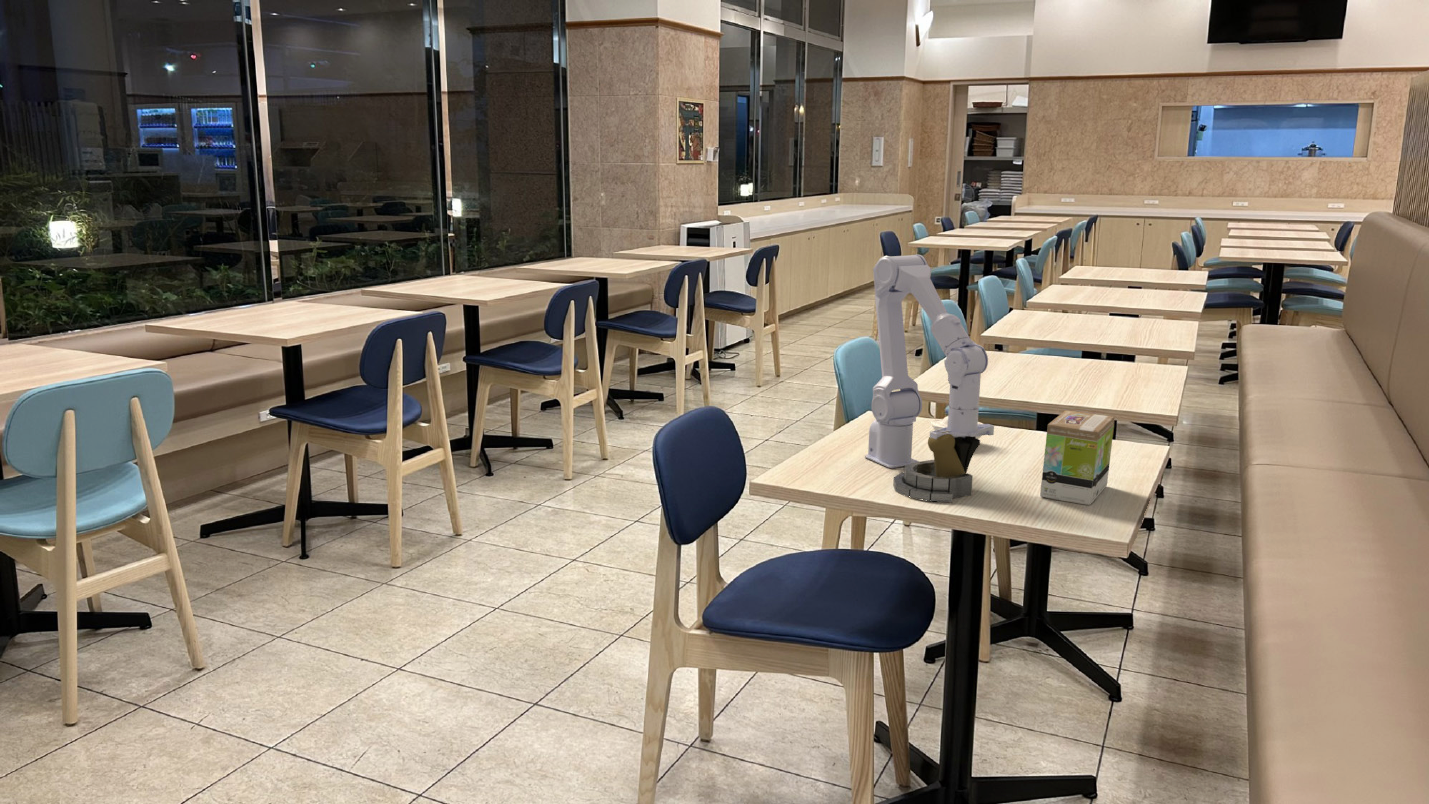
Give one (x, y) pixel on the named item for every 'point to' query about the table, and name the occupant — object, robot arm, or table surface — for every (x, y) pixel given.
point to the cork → (945, 456)
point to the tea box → (1077, 457)
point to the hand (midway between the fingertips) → (959, 473)
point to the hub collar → (931, 483)
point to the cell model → (944, 424)
